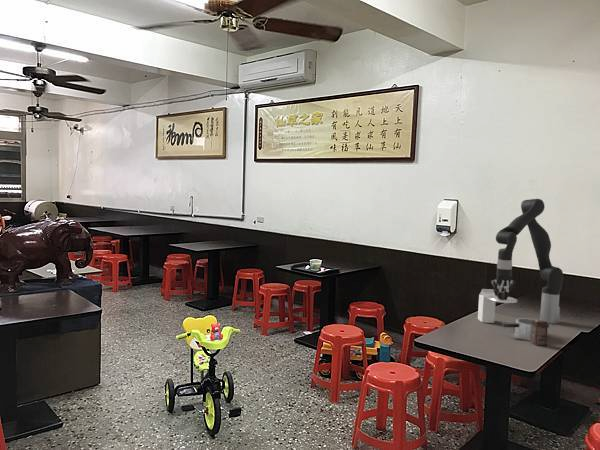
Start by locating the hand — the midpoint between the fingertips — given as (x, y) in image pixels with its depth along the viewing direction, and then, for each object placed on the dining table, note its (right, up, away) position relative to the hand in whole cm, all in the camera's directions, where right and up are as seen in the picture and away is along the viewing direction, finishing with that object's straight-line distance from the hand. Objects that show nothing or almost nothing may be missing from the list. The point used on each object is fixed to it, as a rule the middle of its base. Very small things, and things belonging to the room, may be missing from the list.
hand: (502, 298), depth 256 cm
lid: (0, -1, 0) cm, 1 cm away
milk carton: (-3, -16, +15) cm, 22 cm away
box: (+7, -19, -25) cm, 32 cm away
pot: (+6, -18, -13) cm, 23 cm away
